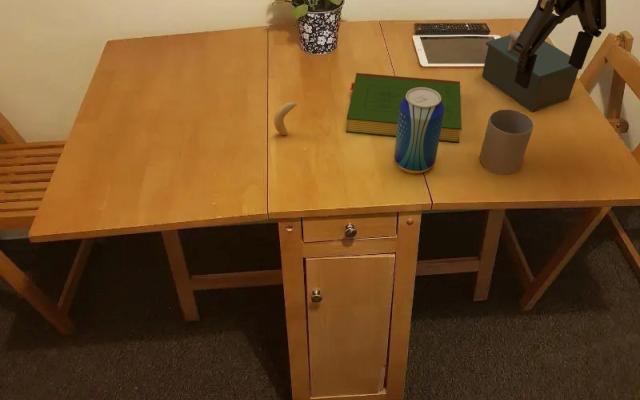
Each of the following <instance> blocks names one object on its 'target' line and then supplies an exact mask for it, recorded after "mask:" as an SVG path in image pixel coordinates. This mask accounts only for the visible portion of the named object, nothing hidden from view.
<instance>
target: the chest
mask: <svg viewBox="0 0 640 400" xmlns="http://www.w3.org/2000/svg"><path fill="white" fill-rule="evenodd" d="M517 70H518V69H517V65H516V64H515V63H513V62H512V61H510V60H508V59H507V58H505V57H504V56H502V55H501V54H499V53H498V52H496V51H495V50H493V49H492V48H490V47H489V46H487V50H486V55H485V59H484V65H483V69H482V73H481V77H482V78H483V79H485V80H486V81H487V82H489V83H490V84H492V85H493V86H494V87H496V88H497V89H498V90H500V91H501V92H503V93H504V94H506V95H507V96H508V97H510V98H511V99H512V100H514V101H515V102H516V103H518V104H519V105H521V106H522V107H524V108H525V109H527V110H528V111H529V112H531V113H534V112H536V111H539V110H542V109H545V108H547V107H551V106H554V105H556V104H558V103H559V104H560V103H562V102H564V101H567V100H569V99H570V97H571V94H572V91H573V88H574V85H575V82H576V80H577V77H578V74H579V71H580V70H579V69H577V68H572V69H569V70H566V71H563V72H560V73H557V74H554V75H551V76H548V77H545V78H542V79H537V78H536V77H534V76H533V75H531V79H530V82H529V86H528V88H526V89H524V88H523V87H521V86H520V85H519V84H517V83H516V82H514V81H515V77H516V74H517Z"/></svg>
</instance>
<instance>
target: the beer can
mask: <svg viewBox="0 0 640 400" xmlns="http://www.w3.org/2000/svg"><path fill="white" fill-rule="evenodd" d="M443 115H444V105H443V103H442V101H441V96H440V94H439V93H438V92H437V91H435V90H433V89H430V88H425V87H418V88H413V89H411V90H409V91H408V92H407V93H406V97H405V98H404V99H403V100H402V101H401V103H400V108H399V117H398V126H397V135H396V137H395V143H394V153H393V159H394V162H395V163H396V164H397V166H398V167H399V168H400V169H401V170H402V171H404V172H406V173H409V174H413V175H414V174H415V175H417V174H422V173H425V172H428V170H430V169H431V168H432V167H434V165H435V164H436V160H437V155H438V154H437V153H438V148H439V144H440V143H439V142H440V141H439V138H440V132H441V126H442V121H443Z"/></svg>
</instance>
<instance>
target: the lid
mask: <svg viewBox="0 0 640 400" xmlns="http://www.w3.org/2000/svg"><path fill="white" fill-rule="evenodd" d="M521 32H522V31H518V30H516V28H515V29H511V30H510V32H509V34H508V35H505V36H502V37H498V38H495V39H492V40H488V41H485V42H486V43H485V45H486V46H487V47H488V46H489V47H490V48H492V49H493V50H495V51H496V52H498V53H499V54H501V55H502V56H504V57H505V58H507V59H508V60H510V61H512V62H513V63H515V64H516V65H518V61H519V57H520V53H518V52H517V51H515V50H514V49H513V45H514V43H515V42H516V40H517V38H518V37H519V35H520V33H521ZM531 47H532V46H531ZM531 47H530V48H531ZM534 54H536V55H537V58H536V61H535V65H534V68H533V72H532V75H533V76H534V77H536V78H537V79H542V78H545V77H548V76H551V75H554V74H557V73H560V72H563V71H566V70H569V69H572V68H575V67H573V66H572V65H570V64H568V62H569V59H570V56H571V55H570V54H568V53H566V52H564V51H563V50H561V49H560V48H558V47H556V46H554V45H552V44H551V43H549V42H548V41H546V40H545V41H544V42H543V43H542V45H541V46H540V47H539V48H538V49H537V51H536V52H535V53H534Z"/></svg>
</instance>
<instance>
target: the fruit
mask: <svg viewBox="0 0 640 400" xmlns="http://www.w3.org/2000/svg"><path fill="white" fill-rule="evenodd" d="M297 105H298V103H297V102H292V101H288V102H286V103H284V104H283V105H282V106H280V107H279V109H277V111H276V113H275V115H274V118H273V123H274V124H273V125H274V127H275V129H276V132H278V134H279V135H282V136H288V134H289V133H288V130H287V127H286V125H285V122H284V119H285V118H286V116H287V115H288V114H289V113H290V111H292V110H293V109H294V108H295V107H297Z"/></svg>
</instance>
